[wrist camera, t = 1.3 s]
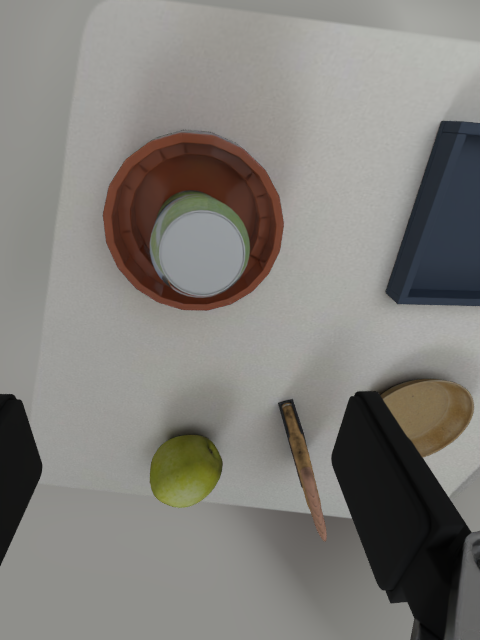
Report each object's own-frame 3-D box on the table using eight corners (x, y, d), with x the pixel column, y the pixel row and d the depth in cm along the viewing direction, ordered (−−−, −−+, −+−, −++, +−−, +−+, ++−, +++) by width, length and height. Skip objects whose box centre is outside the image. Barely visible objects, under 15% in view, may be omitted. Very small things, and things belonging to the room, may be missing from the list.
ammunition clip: (305, 451, 48) (334, 543, 38) (292, 455, 48) (318, 547, 38) (292, 398, 42) (322, 489, 32) (278, 402, 42) (302, 494, 32)
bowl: (109, 122, 26) (91, 124, 21) (280, 137, 27) (296, 142, 23) (125, 283, 32) (114, 308, 28) (262, 287, 34) (271, 311, 30)
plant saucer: (367, 460, 50) (375, 476, 48) (337, 397, 43) (344, 412, 41) (466, 421, 48) (479, 436, 46) (452, 348, 41) (467, 361, 39)
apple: (137, 441, 44) (126, 502, 37) (195, 409, 42) (194, 466, 35) (176, 471, 47) (172, 531, 40) (231, 442, 45) (236, 500, 39)
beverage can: (150, 244, 30) (125, 310, 20) (172, 159, 27) (156, 186, 17) (216, 266, 32) (225, 336, 22) (245, 188, 29) (271, 229, 19)
